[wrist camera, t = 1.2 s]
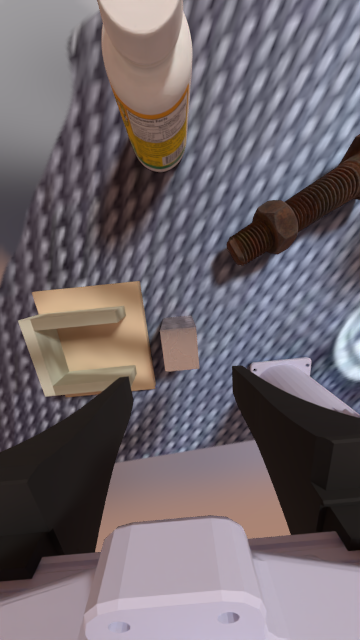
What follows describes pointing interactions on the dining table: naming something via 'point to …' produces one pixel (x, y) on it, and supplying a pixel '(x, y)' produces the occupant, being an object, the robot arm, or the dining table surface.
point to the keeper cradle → (89, 339)
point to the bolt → (297, 210)
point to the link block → (179, 343)
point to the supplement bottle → (150, 75)
